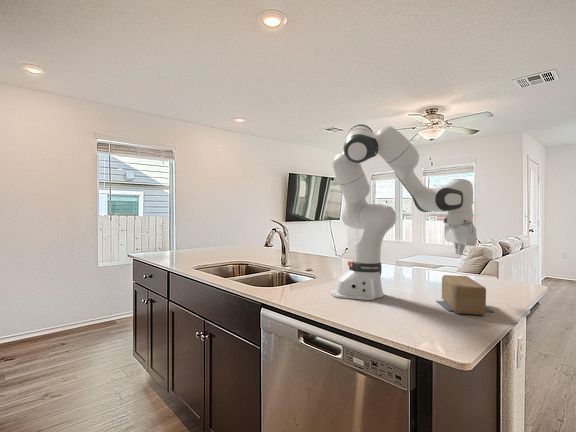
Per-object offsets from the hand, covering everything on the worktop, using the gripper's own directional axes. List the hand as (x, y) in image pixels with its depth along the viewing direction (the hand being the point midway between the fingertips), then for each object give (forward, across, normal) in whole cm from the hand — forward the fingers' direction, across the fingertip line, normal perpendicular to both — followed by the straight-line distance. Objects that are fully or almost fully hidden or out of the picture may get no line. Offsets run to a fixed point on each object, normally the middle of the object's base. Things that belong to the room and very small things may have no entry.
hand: (459, 254), depth 133 cm
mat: (+19, -7, +1) cm, 20 cm away
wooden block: (+14, +2, +1) cm, 14 cm away
